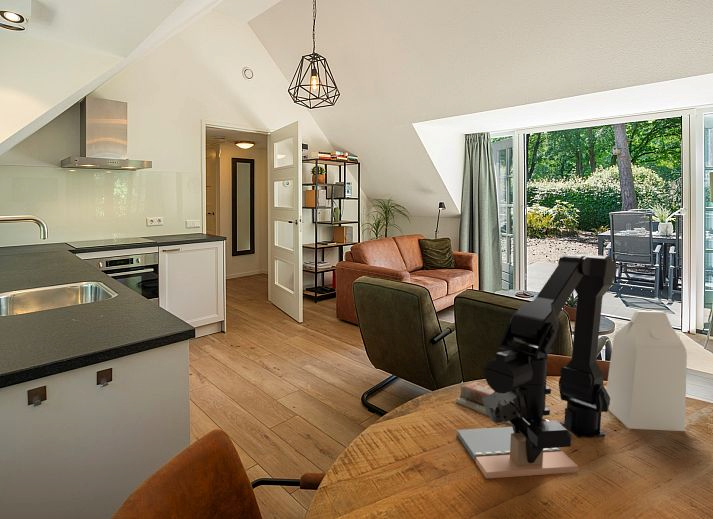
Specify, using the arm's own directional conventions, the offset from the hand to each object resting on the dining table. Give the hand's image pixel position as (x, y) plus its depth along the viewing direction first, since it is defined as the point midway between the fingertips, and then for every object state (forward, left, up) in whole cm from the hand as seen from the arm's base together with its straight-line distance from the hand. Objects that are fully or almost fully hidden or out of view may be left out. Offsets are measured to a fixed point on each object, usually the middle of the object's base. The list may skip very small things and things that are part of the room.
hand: (526, 457), depth 81 cm
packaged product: (-5, -24, -3) cm, 25 cm away
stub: (0, 0, -2) cm, 2 cm away
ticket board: (0, -8, -2) cm, 8 cm away
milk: (-38, -16, -2) cm, 41 cm away
